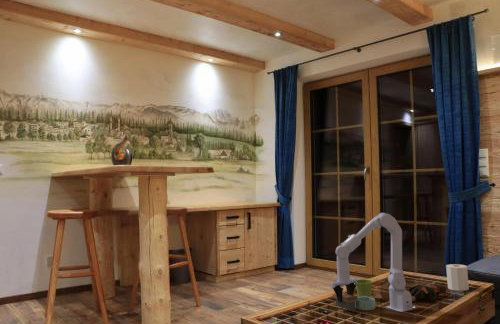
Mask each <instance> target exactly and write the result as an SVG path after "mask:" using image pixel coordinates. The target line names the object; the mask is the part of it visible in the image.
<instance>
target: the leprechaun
mask: <svg viewBox="0 0 500 324" xmlns="http://www.w3.org/2000/svg"><path fill="white" fill-rule="evenodd" d="M408 291H409V292H410V293H411V296H412V302H416V301H420V300H421V301H422V300H429V301H430V302H435V300H436V298H437V297H439V296H440V294H446V293H447V288H446V286H445V285H444V284H442V285H439V284H437V283H434V284H432V285H431V284H428V285H425V284H417V285H414V286H412V287H410V288H409V290H408Z"/></svg>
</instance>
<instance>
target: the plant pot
mask: <svg viewBox="0 0 500 324" xmlns="http://www.w3.org/2000/svg"><path fill="white" fill-rule="evenodd" d="M373 283H374V281H373V280H371V279H363V278H362V279H357V283H354V284H356V288H355V289H356V293H357V297H362V296H366V297H372V285H373Z"/></svg>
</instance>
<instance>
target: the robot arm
mask: <svg viewBox="0 0 500 324" xmlns="http://www.w3.org/2000/svg"><path fill="white" fill-rule="evenodd" d="M382 227H383V228H385V229H386V230H387V231H388V233H390V268H389V273H388V276H387V281H388V283H389V287H388V295H389V305H387V306H385V308H386V309H391V310H393V311H397V312H400V313H404V312H407V311H411V310H414V307H413V301H412V296H411V293H410V292H409V290H407V289H406V285H407V283H406V279H405V274H404V271H403V230H402V228H401V226H400V225H399V223H398V221H397V219H396V218H395V217H394V216H392V215H391V214H389V213H386V212H380V213H378V214H377V215H376V216H374V217H373V218H372V219H371V220H370V221H369V222H368V223H366V224H365V225H364V226H363V227H362V228H361V229H360V230H359V231H358V232H357V233H355V234H353V233H352V234H351V235H350V234H348V236H347V237H348V238H346V239H345V240H344V241H343V242H341V243H340V245H338V246H337V247H336V248H335V251H334V252H335V255H336V272H337V280H336V281H332V282H330V287H331V288H332V290H333V292H334V294H336V296H337V299H338V302H342V293H344V288H343V287H342V286H345V288H346V294H349V295H352V296H354V294H355V293H354V292H355V289H356V284H355V283H357V280H358V279H357V278H351V275H350V261H349V256H350V254H351V253H352V252H353V251H355V250H356V249H357V248H358V247H359V246H360V245H361V244H362V239H364V238H365V237H366V236H368V235H369V234H370V233H371V232H372V231H373V230H375V229H381V228H382Z"/></svg>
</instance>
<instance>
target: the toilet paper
mask: <svg viewBox="0 0 500 324" xmlns="http://www.w3.org/2000/svg"><path fill="white" fill-rule="evenodd" d="M445 270H446V281H447V289H448V290H450V291H451V290H452V291H457V292H463V291H469V289H470V288H469V287H470V286H469V277H468V275H469V274H468V266H467V265H465V264H458V263H456V264H455V263H453V264H451V263H450V264H445Z"/></svg>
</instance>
